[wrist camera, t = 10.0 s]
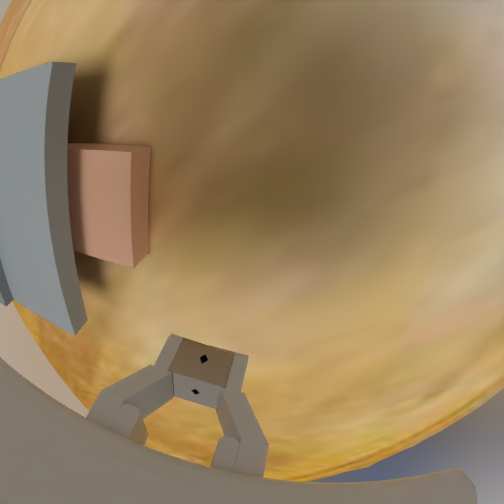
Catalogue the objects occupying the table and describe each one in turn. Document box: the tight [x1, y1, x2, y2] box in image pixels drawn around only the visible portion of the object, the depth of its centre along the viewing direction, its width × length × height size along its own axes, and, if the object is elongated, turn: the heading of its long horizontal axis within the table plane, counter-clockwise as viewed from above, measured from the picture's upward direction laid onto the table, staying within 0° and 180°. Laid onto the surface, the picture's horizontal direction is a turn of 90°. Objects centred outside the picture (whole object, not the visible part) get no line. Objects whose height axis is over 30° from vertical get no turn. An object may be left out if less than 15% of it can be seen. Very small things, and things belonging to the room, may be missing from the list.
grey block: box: [0, 62, 87, 335], centre depth 19 cm, size 24×13×9 cm, turn 169°
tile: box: [67, 143, 151, 268], centre depth 22 cm, size 10×14×4 cm
